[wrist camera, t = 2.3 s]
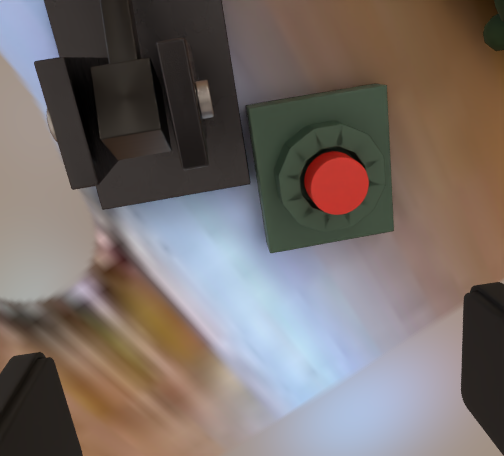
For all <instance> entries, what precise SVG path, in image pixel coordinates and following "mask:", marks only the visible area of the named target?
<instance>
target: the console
mask: <svg viewBox="0 0 504 456" xmlns="http://www.w3.org/2000/svg"><path fill="white" fill-rule="evenodd" d="M246 112H247V118H248V125H249V131H250V138H251V144H252V151H253V157H254V164H255V170H256V177H257V183H258V190H259V196H260V203H261V209H262V216H263V222H264V229H265V236H266V242H267V245H268V248H269V251H270V253H275V252H281V251H286V250H292V249H297V248H303V247H308V246H314V245H319V244H325V243H330V242H336V241H341V240H347V239H352V238H358V237H363V236H369V235H374V234H380V233H385V232H391V231H394V224H393V204H392V183H391V163H390V142H389V122H388V101H387V85H382V84H370V85H364V86H358V87H352V88H346V89H340V90H334V91H328V92H322V93H316V94H310V95H304V96H298V97H292V98H286V99H281V100H275V101H269V102H263V103H257V104H251V105H246ZM331 151H338V152H342V153H345V154H347V155H348V156H350V157H351V158H353V159H354V160H356V161H357V162H359V163H360V164H361V165H362V166H363V167H364V169H365V170H366V172H367V175H368V180H369V187H368V191H367V194H366V197H365V199H364V200H363V202H362V203H361V204H360V205H359V206H358V207H357V208H356V209H354V210H353V211H351V212H348V213H346V214H341V215H333V214H329V213H326V212H324V211H322V210H321V209H319V208H318V207H317V206H316V204H315V203H314V202H313V201H312V199H311V198H310V197H309V195H308V194H307V192H306V189H305V185H304V177H305V173H306V170H307V168H308V166H309V164H310V163H311V162H312V161H313V160H314V159H315V158H316V157H318V156H319V155H321V154H323V153H326V152H331Z"/></svg>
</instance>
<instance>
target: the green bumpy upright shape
mask: <svg viewBox="0 0 504 456" xmlns="http://www.w3.org/2000/svg"><path fill="white" fill-rule="evenodd" d="M494 2H495V7H496V9H497V12H498V14H496V15H495V16H493V17H492V18H491V19H490V20H489V22H488V23H487V24H486V25H485V27H484V31H483V36H484V41H485V43H486V44H487V45H489V46H490V47H491V48H492V49H494V50H495V51H499V50H504V0H494Z"/></svg>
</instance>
